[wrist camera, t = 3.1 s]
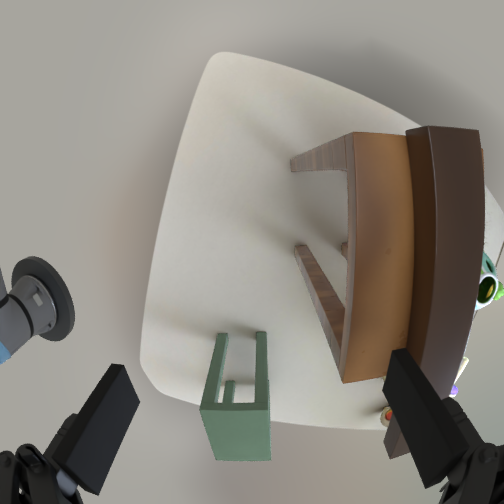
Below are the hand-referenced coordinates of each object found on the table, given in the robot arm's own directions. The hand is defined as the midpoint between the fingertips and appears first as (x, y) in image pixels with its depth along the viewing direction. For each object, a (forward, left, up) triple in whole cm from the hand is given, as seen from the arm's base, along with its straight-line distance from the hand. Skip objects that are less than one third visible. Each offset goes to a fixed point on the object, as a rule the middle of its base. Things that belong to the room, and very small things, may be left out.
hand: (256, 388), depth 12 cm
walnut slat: (+12, -1, -4) cm, 13 cm away
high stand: (+11, +3, -34) cm, 36 cm away
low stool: (-4, -26, -34) cm, 43 cm away
